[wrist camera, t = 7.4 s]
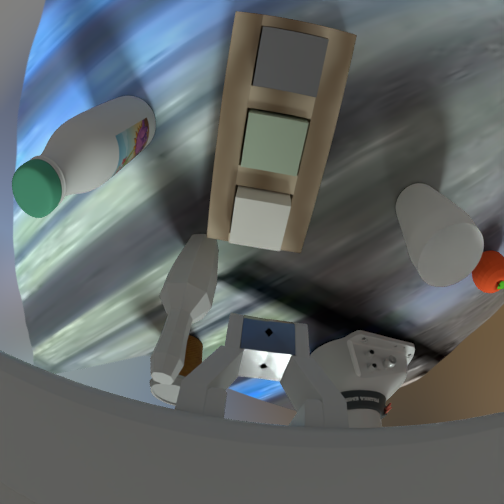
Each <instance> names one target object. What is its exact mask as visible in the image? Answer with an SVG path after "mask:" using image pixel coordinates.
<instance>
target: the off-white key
mask: <svg viewBox="0 0 504 504" xmlns="http://www.w3.org/2000/svg"><path fill="white" fill-rule="evenodd" d="M290 209H291V199H290V194H287V193H282V192H276V191H271V190H265V189H259V188H253V187H247V186H241V185H239V186H238V189H237V193H236V197H235V204H234V211H233V218H232V225H231V232H230V239H229V243H232V244H238V245H244V246H250V247H256V248H262V249H268V250H274V251H280V249H281V245H282V241H283V237H284V233H285V229H286V225H287V221H288V217H289V213H290Z"/></svg>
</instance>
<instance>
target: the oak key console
mask: <svg viewBox="0 0 504 504" xmlns="http://www.w3.org/2000/svg"><path fill="white" fill-rule="evenodd" d="M263 26H265V27H271V28H277V29H283V30H288V31H294V32H299V33H304V34H308V35H313V36H317V37H321V38H326V39H329V41H328V46H327V50H326V55H325V60H324V65H323V70H322V74H321V79H320V84H319V88H318V93H317V97H312V96H307V95H302V94H298V93H293V92H288V91H282V90H277V89H271V88H265V87H259V86H253V82H254V76H255V70H256V64H257V58H258V52H259V47H260V41H261V35H262V30H263ZM356 36H357V35H354V34H351V33H348V32H344V31H340V30H337V29H333V28H329V27H325V26H321V25H316V24H312V23H307V22H303V21H298V20H293V19H287V18H282V17H276V16H269V15H262V14H255V13H247V12H237V11H236V13H235V19H234V25H233V31H232V37H231V43H230V49H229V55H228V62H227V69H226V75H225V82H224V89H223V96H222V104H221V111H220V119H219V127H218V135H217V143H216V151H215V160H214V169H213V178H212V188H211V197H210V207H209V218H208V229H207V238H213V239H219V240H225V241H229V239H230V232H231V225H232V218H233V211H234V204H235V197H236V193H237V189H238V186H239V185H241V186H247V187H253V188H259V189H265V190H271V191H276V192H282V193H287V194H290V199H291V209H290V213H289V217H288V221H287V225H286V229H285V233H284V237H283V241H282V245H281V249H280V250H284V251H290V252H296V253H301V250H302V247H303V243H304V240H305V237H306V233H307V230H308V226H309V223H310V220H311V216H312V213H313V209H314V206H315V202H316V198H317V195H318V191H319V188H320V184H321V180H322V177H323V173H324V169H325V165H326V162H327V158H328V154H329V150H330V146H331V143H332V139H333V135H334V131H335V127H336V123H337V119H338V115H339V111H340V106H341V102H342V98H343V94H344V90H345V85H346V81H347V77H348V72H349V68H350V63H351V59H352V54H353V50H354V45H355V40H356ZM251 108H255V109H261V110H267V111H273V112H278V113H283V114H289V115H294V116H299V117H303V118H306V119H307V121H308V123H309V124H308V128H307V133H306V137H305V142H304V146H303V150H302V155H301V159H300V163H299V168H298V172H297V176H291V175H286V174H281V173H275V172H270V171H264V170H258V169H252V168H246V167H241V161H242V154H243V148H244V142H245V135H246V129H247V123H248V116H249V112H250V109H251Z"/></svg>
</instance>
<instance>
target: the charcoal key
mask: <svg viewBox="0 0 504 504" xmlns="http://www.w3.org/2000/svg"><path fill="white" fill-rule="evenodd" d="M328 41H329V39H326V38H321V37H317V36H313V35H308V34H304V33H299V32H294V31H288V30H283V29H277V28H271V27H265V26H263V30H262V35H261V41H260V47H259V52H258V58H257V64H256V70H255V76H254V82H253V86H259V87H265V88H271V89H277V90H282V91H288V92H293V93H298V94H302V95H307V96H312V97H317V93H318V88H319V84H320V79H321V74H322V70H323V65H324V60H325V55H326V50H327V46H328Z"/></svg>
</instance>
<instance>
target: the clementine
mask: <svg viewBox="0 0 504 504" xmlns="http://www.w3.org/2000/svg"><path fill="white" fill-rule="evenodd" d="M472 277H473V281H474V283H475V285H476V286H477V287H478V289H480V290H481V291H483V292H486V293H494V292H497V291H499V290H500V289H503V288H504V257H503V256H502V255H501V254H500V253H498V252H496V251H485V252H483V253H482V256H481V259H480V261H479V263H478V264H477V266H476V267H475V268H474V270H473V271H472Z"/></svg>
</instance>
